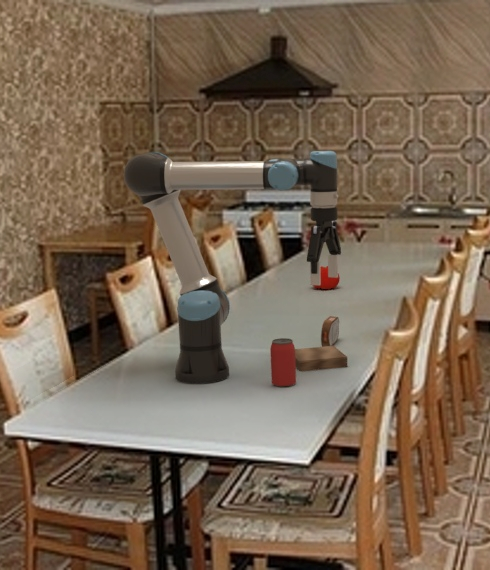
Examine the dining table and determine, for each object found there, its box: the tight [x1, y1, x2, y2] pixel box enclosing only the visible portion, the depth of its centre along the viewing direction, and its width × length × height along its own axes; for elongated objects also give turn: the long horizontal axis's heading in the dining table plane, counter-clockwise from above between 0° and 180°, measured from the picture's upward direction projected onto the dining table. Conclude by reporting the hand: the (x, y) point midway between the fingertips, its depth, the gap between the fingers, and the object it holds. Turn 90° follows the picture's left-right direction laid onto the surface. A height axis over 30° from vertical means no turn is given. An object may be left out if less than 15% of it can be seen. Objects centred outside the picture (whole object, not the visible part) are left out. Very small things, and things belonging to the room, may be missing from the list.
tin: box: [320, 315, 340, 347], centre depth 298 cm, size 15×3×8 cm, turn 162°
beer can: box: [269, 337, 297, 388], centre depth 256 cm, size 7×7×12 cm
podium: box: [295, 345, 348, 372], centre depth 276 cm, size 14×14×3 cm
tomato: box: [312, 265, 341, 290], centre depth 393 cm, size 11×12×9 cm
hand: (324, 281), depth 272 cm, fingers open, 13 cm apart
